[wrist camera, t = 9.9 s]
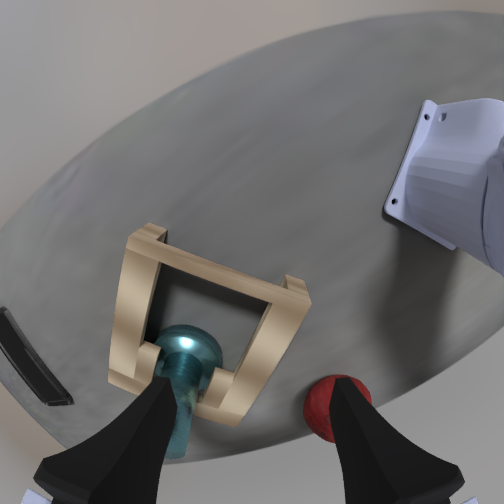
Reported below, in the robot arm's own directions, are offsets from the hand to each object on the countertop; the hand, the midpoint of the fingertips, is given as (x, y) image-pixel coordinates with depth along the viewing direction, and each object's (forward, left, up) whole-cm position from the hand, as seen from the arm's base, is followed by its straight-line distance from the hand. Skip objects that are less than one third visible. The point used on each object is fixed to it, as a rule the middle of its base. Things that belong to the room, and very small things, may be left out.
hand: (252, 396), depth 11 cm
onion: (+6, +10, -11) cm, 16 cm away
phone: (+22, -23, -11) cm, 34 cm away
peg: (+8, -3, -10) cm, 13 cm away
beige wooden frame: (+5, -3, -10) cm, 12 cm away
